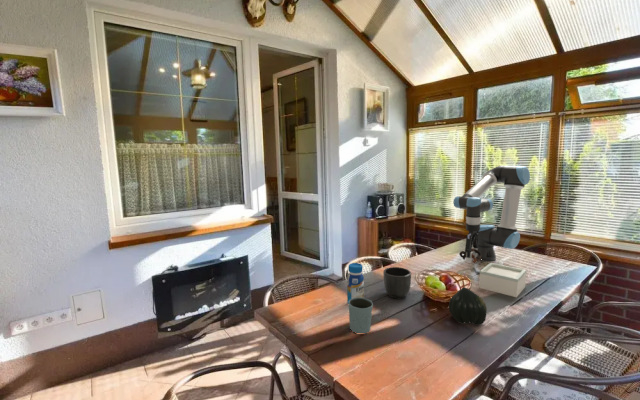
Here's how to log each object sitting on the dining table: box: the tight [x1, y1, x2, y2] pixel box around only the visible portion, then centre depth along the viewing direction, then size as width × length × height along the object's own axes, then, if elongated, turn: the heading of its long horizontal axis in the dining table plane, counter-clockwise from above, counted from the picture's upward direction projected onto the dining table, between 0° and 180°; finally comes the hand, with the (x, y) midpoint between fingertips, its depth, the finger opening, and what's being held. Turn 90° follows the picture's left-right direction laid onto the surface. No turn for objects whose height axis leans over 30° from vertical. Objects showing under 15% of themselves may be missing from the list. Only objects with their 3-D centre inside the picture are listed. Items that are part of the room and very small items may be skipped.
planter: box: [383, 266, 412, 299], centre depth 166 cm, size 14×14×13 cm
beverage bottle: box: [346, 262, 365, 305], centre depth 157 cm, size 8×8×20 cm
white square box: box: [478, 262, 527, 298], centre depth 174 cm, size 18×18×10 cm
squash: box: [448, 286, 488, 326], centre depth 140 cm, size 14×15×15 cm
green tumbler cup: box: [347, 297, 374, 334], centre depth 134 cm, size 10×10×12 cm
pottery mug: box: [459, 249, 482, 264], centre depth 191 cm, size 12×10×8 cm
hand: (471, 260), depth 192 cm, fingers closed on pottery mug, 9 cm apart
